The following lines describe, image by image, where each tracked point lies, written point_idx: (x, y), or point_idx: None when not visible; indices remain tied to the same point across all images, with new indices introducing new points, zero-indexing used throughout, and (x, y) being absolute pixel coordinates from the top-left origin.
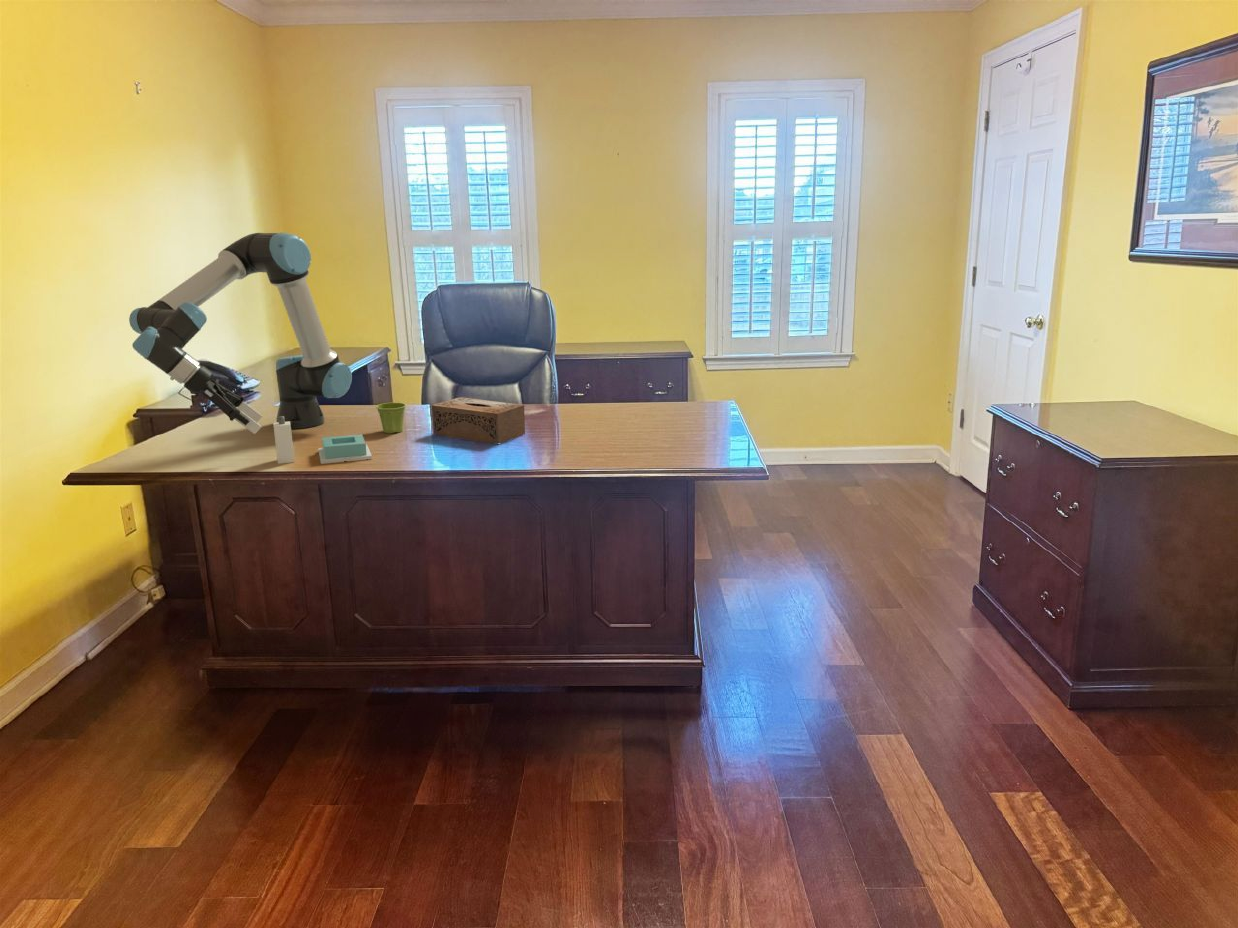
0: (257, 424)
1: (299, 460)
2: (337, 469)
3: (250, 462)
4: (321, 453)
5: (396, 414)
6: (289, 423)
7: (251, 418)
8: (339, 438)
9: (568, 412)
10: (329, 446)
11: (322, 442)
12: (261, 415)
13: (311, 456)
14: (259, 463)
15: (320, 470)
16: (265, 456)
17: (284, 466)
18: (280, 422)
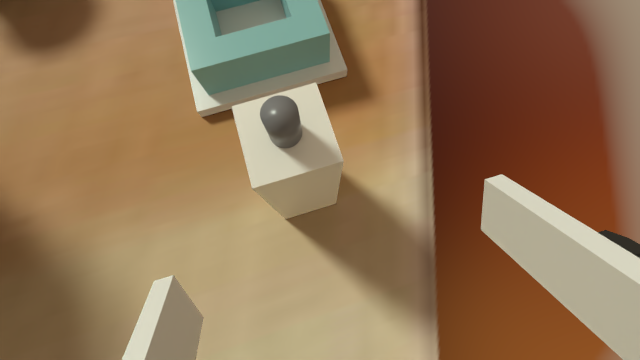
0: (525, 191)
1: None
2: (402, 23)
3: (313, 309)
4: (263, 86)
5: None
6: (286, 94)
7: (189, 355)
8: (210, 16)
9: None
10: (322, 19)
11: (205, 78)
12: (165, 284)
13: None
14: (328, 269)
15: (413, 61)
16: (235, 278)
17: (369, 172)
18: (301, 129)
